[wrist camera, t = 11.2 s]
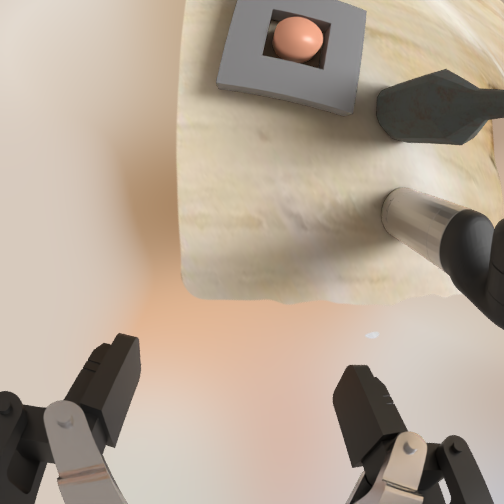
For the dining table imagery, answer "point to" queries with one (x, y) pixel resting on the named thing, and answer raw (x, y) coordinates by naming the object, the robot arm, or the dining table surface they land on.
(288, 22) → the button cap
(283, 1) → the button box
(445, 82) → the bottle
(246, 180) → the dining table surface
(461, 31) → the dining table surface
